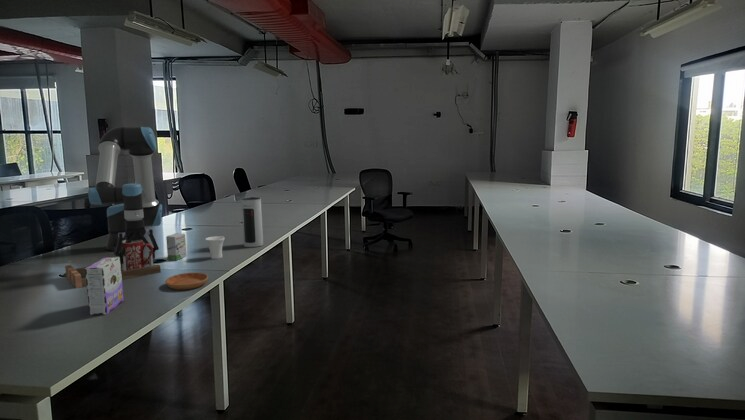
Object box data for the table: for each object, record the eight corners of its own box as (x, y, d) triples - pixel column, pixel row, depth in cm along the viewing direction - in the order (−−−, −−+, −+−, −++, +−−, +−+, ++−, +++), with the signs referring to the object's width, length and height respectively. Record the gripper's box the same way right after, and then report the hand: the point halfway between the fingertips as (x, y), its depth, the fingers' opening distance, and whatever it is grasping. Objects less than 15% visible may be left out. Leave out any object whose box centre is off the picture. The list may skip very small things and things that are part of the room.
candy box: (107, 301, 173) (103, 257, 170) (124, 300, 173) (120, 256, 171) (88, 315, 159) (83, 267, 157) (107, 314, 160) (102, 267, 157)
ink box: (176, 260, 228) (174, 236, 226) (167, 260, 229) (165, 236, 227) (187, 256, 236) (185, 233, 234) (178, 256, 237) (176, 232, 235)
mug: (120, 273, 207) (117, 243, 205) (127, 268, 216) (125, 238, 214) (150, 272, 209) (148, 242, 207) (157, 266, 218) (154, 237, 215)
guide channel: (66, 277, 202) (65, 265, 202) (145, 263, 224) (145, 252, 223) (76, 288, 188) (75, 275, 187) (160, 272, 209) (159, 261, 208)
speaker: (239, 246, 256) (237, 198, 252) (251, 242, 266) (249, 196, 262) (255, 248, 252) (253, 199, 248) (267, 244, 262) (265, 196, 258)
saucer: (183, 294, 181) (182, 286, 180) (157, 287, 189) (156, 280, 189) (217, 283, 194) (216, 276, 194) (191, 277, 202) (191, 270, 202)
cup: (229, 257, 234) (228, 237, 233) (212, 260, 227) (211, 240, 226) (220, 254, 240) (219, 234, 239) (203, 257, 233) (201, 237, 232)
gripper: (107, 223, 198) (111, 275, 202) (164, 217, 213) (167, 265, 217) (102, 221, 204) (107, 271, 207) (158, 215, 219) (162, 262, 222)
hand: (138, 268), depth 212 cm, fingers closed on mug, 10 cm apart
